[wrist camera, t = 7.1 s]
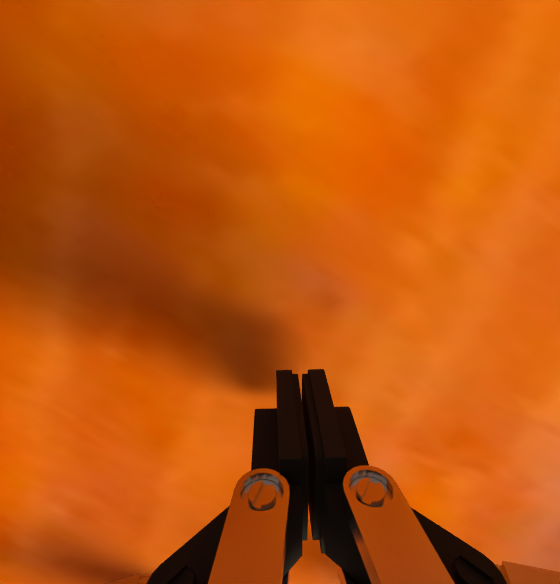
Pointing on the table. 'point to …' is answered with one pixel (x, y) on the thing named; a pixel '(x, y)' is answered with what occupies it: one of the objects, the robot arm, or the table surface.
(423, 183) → the table surface
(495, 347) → the table surface
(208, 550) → the robot arm
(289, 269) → the table surface
